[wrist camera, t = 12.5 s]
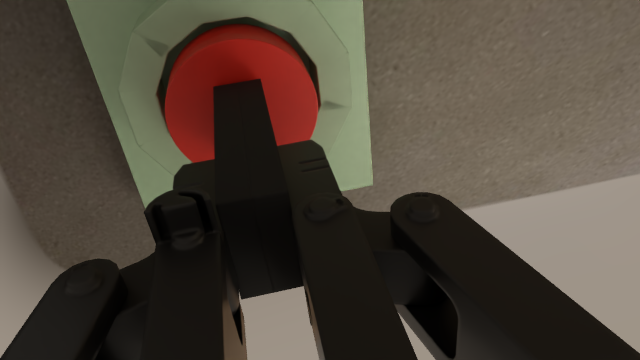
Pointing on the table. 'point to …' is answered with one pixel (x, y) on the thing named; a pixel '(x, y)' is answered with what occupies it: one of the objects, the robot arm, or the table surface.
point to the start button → (231, 67)
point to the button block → (194, 19)
